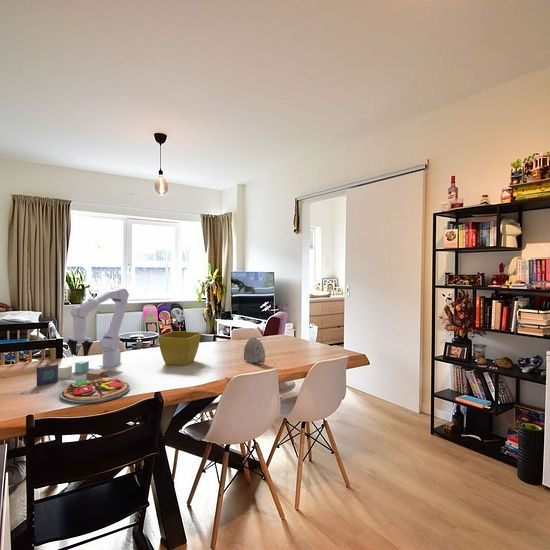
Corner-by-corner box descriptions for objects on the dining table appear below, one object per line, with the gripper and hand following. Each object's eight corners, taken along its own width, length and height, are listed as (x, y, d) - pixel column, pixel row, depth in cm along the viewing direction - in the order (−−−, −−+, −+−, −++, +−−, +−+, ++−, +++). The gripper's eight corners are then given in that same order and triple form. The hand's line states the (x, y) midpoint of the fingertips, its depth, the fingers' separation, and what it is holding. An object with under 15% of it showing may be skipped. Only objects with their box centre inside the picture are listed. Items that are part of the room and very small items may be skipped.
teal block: (81, 370, 195) (81, 360, 195) (88, 370, 194) (88, 361, 193) (75, 372, 190) (75, 362, 190) (82, 373, 189) (82, 363, 189)
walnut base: (96, 374, 187) (96, 368, 187) (108, 375, 185) (108, 370, 185) (86, 378, 180) (86, 372, 180) (98, 379, 178) (98, 373, 178)
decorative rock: (242, 360, 221) (242, 336, 220) (251, 359, 224) (252, 335, 224) (257, 366, 207) (257, 340, 207) (266, 365, 211) (267, 339, 211)
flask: (56, 381, 176) (57, 359, 176) (59, 382, 175) (59, 360, 174) (35, 386, 169) (35, 363, 169) (38, 387, 167) (38, 364, 167)
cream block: (63, 375, 185) (63, 365, 185) (71, 375, 185) (71, 365, 185) (57, 377, 180) (57, 367, 180) (66, 378, 180) (66, 368, 180)
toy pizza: (64, 409, 142) (64, 398, 142) (57, 389, 164) (57, 379, 164) (137, 395, 158) (137, 385, 158) (121, 378, 180) (121, 370, 180)
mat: (85, 368, 199) (85, 368, 199) (123, 372, 192) (123, 371, 192) (55, 379, 179) (55, 378, 179) (95, 383, 173) (95, 383, 173)
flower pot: (187, 368, 203) (188, 338, 202) (156, 365, 207) (157, 336, 206) (201, 359, 221) (201, 332, 221) (172, 357, 225) (172, 330, 225)
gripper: (61, 329, 186) (62, 355, 187) (85, 331, 183) (85, 357, 183) (72, 327, 193) (72, 352, 193) (95, 328, 190) (95, 354, 190)
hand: (79, 355), depth 189 cm, fingers open, 7 cm apart
